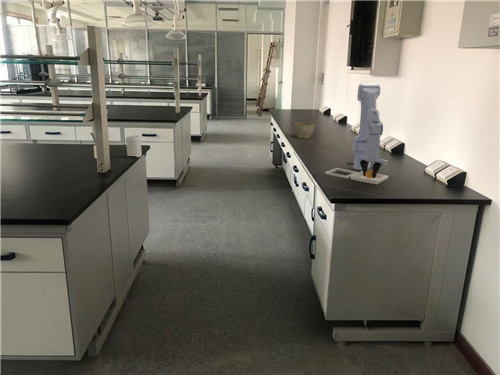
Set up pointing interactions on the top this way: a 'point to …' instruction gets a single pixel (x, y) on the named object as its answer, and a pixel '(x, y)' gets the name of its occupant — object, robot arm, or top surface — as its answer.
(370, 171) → the ball
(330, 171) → the tray
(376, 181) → the dish
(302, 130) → the planter bowl
